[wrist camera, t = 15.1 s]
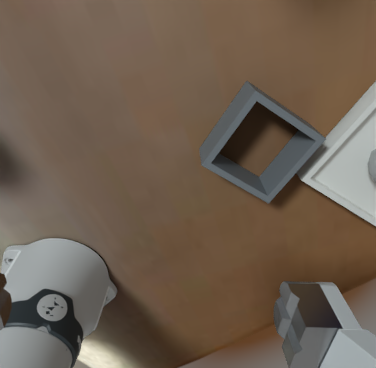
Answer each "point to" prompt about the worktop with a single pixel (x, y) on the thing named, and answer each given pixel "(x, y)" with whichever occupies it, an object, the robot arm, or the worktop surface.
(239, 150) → the worktop surface
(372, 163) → the salt shaker
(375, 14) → the worktop surface
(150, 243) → the worktop surface
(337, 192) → the tray
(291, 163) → the hollow square frame
